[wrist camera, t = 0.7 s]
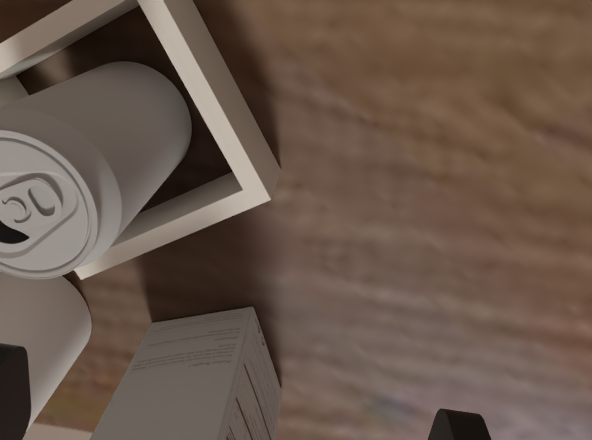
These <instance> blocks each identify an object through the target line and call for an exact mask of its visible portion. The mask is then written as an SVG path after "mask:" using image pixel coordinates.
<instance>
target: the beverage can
mask: <svg viewBox="0 0 592 440" xmlns="http://www.w3.org/2000/svg"><path fill="white" fill-rule="evenodd" d="M191 134H192V125H191V118H190V113H189V110H188V107H187V105H186V102H185V100H184V98H183V97H182V95H181V93H180V92H179V91H178V89H177V88H176V87H175V85H174V84H173V83H172V82H171V81H170V80H168V79H167V78H166V77H165V76H164V75H162V74H161V73H159V72H158V71H156V70H154V69H152V68H150V67H148V66H146V65H143V64H140V63H135V62H129V61H119V62H112V63H107V64H104V65H102V66H99V67H97V68H95V69H92V70H90V71H87V72H85V73H83V74H80V75H78V76H75V77H73V78H71V79H68V80H66V81H63V82H61V83H59V84H56V85H54V86H51V87H49V88H47V89H44V90H42V91H40V92H37V93H35V94H32V95H30V96H28V97H25V98H23V99H20V100H18V101H16V102H13V103H11V104H8V105H6V106H4V107H1V108H0V271H2V272H5V273H7V274H10V275H14V276H17V277H22V278H28V279H49V278H54V277H59V276H62V275H64V274H66V273H69V272H71V271H72V270H74V269H75V268H79V267H82V266H85V265H87V264H89V263H91V262H93V261H94V260H96V259H98V258H99V257H100V256H102V255H103V254H104V253H105V252H106V251H107V250H108V249H109V247H110V246H111V245H112V244H113V243H114V241H115V240H116V239H117V238H118V237H119V235H120V234H121V233H122V232H123V231H124V229H125V228H126V227H127V226H128V225H129V223H130V222H131V221H132V220H133V218H134V217H135V216H136V215H137V214H138V212H139V211H140V210H141V209H142V208H143V206H144V205H145V204H146V203H147V202H148V200H149V199H150V198H151V197H152V196H153V194H154V193H155V192H156V191H157V190H158V188H159V187H160V186H161V185H162V184H163V182H164V181H165V180H166V179H167V178H168V176H169V175H170V174H171V173H172V172H173V170H174V169H175V168H176V167H177V166H178V164H179V163H180V162H181V161H182V159H183V158H184V156H185V154H186V152H187V150H188V148H189V144H190V140H191Z"/></svg>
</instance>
